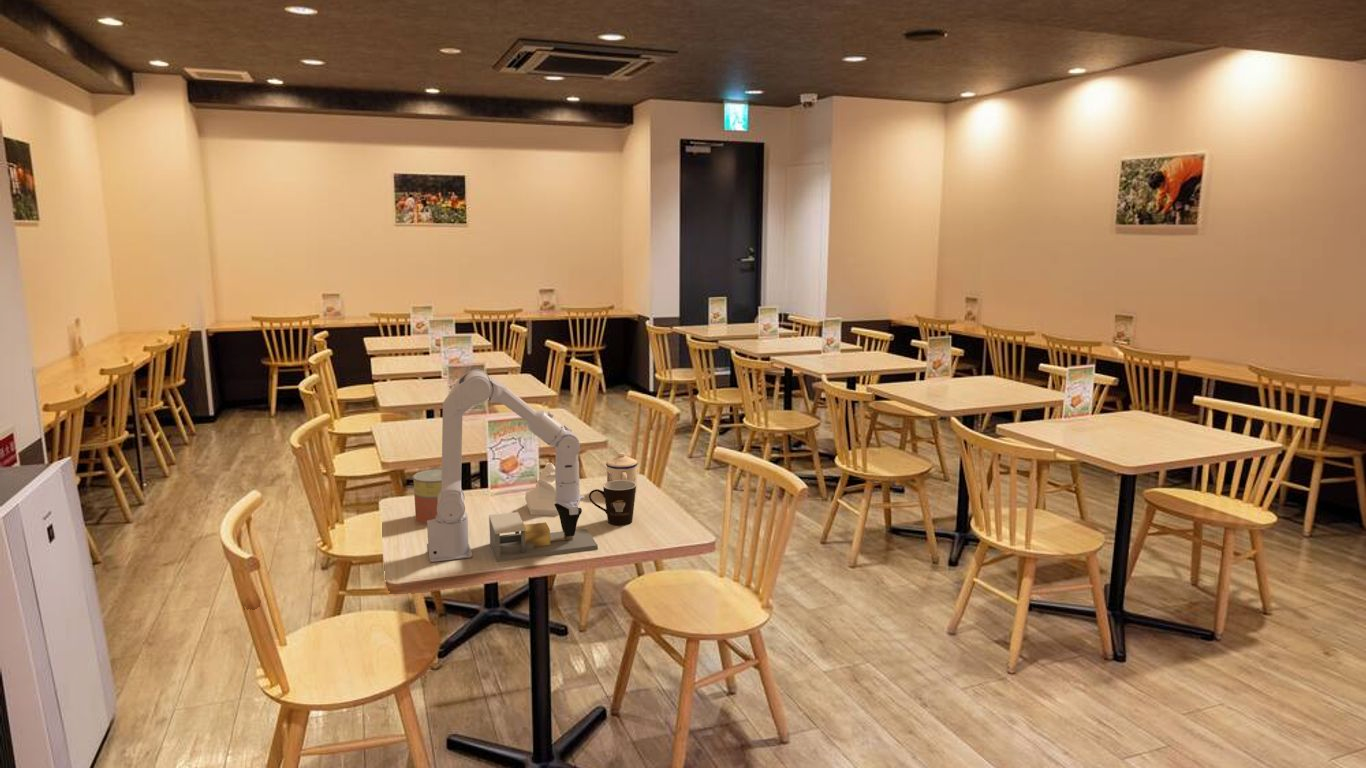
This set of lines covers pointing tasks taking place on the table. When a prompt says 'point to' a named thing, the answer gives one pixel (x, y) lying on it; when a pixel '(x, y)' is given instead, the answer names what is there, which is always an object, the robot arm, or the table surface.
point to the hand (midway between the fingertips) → (568, 533)
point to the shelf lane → (518, 548)
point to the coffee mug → (618, 501)
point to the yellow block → (540, 534)
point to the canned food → (426, 494)
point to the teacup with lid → (622, 468)
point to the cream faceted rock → (543, 493)
